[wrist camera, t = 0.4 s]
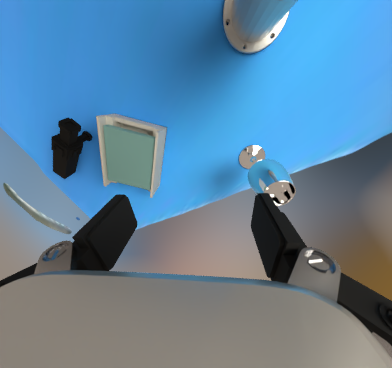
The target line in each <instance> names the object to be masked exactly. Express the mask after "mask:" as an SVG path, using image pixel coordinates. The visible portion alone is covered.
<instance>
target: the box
mask: <svg viewBox="0 0 392 368" xmlns="http://www.w3.org/2000/svg"><path fill="white" fill-rule="evenodd" d="M96 119H97V128H98V137H99V146H100V155H101V164H102V173H103V182H104V186H107V185H108V184H110V183H111V182H113V183H117V182H114V181H110V180H108V171H107V160H106V149H105V138H104V127H103V125H108V124H109V125H113V126H116V127H120V128H124V129H128V130H132V131H135V132H139V133H143V134H147V135H151V136H154V137H156V138H155V149H154V160H153V171H152V182H151V190H148V191H150V192H151V193H150V197H151V198H152V197H153V195H154V194H155V192H156V190H157V189H158V187H159V185H160V179H161V171H162V163H163V155H164V147H165V139H166V131H167V127H163V126H159V125H156V124H152V123H148V122H145V121H141V120H137V119H133V118H130V117H126V116H122V115H118V114H108V115H100V116H96Z"/></svg>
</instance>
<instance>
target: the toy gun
mask: <svg viewBox="0 0 392 368" xmlns="http://www.w3.org/2000/svg"><path fill="white" fill-rule="evenodd" d="M58 125H59V127H60V134H58V135H55V136H53V137H52V150H53V171H54V172H55V173H56V174H58V175H59V176H61V177H62V178H64V179H66V178H67V177H69V176H70V175H72V174H73V173H75V171H76V166H77V162H78V158H79V154H80V153H81V151H82V147H83V142H84V141H86V140H87V141H90V140H91V139H92V136H91V134H89V133H88V132H87V131H84V132H83V133H82V135H80V136H78V132H80V131H81V126H80V125H79V124H78V123H77V122H75V121H74V120H73V119H72V118H71V119H70V118H66V119H63V120H60V121H59V124H58Z"/></svg>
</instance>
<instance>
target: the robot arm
mask: <svg viewBox="0 0 392 368" xmlns="http://www.w3.org/2000/svg"><path fill="white" fill-rule="evenodd" d="M297 1H298V0H225V3H224V9H223V25H224V31H225V34H226V37H227V39H228V41H229V43H230V44H231V45H232V46H233V47H234V48H235V49H236V50H237V51H239V52H242V53H246V54H251V53H256V52H259V51H261V50H263V49H264V48H266V47H267V46H268V45H269V44H271V43H272V42H273V41H274V40H275V38H276V37H277V36H278V34H279V33H280V32H281V30H282V28H283V26H284V24H285V22H286V20H287V17H288V15H289V11H290V9H291V8H292V7H293V6H294V4H295V3H296V2H297ZM226 23H229V24H228V25H226ZM270 36H272V39H271V38H270ZM243 47H245V49H243ZM136 227H137V221H136V218H135V215H134V213H133V210H132V207H131V204H130V201H129V199H128V197H127V196H126V195H115V196H114V197H113V198H112V199H111V200H110V201H109V202H108V203H107V204H106V205H105V206H104V207H103V208H102V209H101V210H100V211H99V212H98V213H97V214H96V215H95V216H94V217H93V218H92V219H91V220H90V221H89V222H88V223H87V224H86V225H84V226H83V227H82V228H81V229H80V230H79V231H78V232H77V233H76V234H75V235H74V236H73V239H74V240H75V241H74V242H73V243H72V242H70V241H62V242H59V243H57V244H55V245H53V246H51V247H50V248H48V249H47V250H46V251H44V252H43V253H42V255H41V256H40V258H39V260H38V263H36V264H34V265H32V266H30V267H28V268H26V269H24V270H22V271H20V272H17V273H15V274H13V275H11V276H9V277H7V278H5V279H3V280H1V281H0V368H392V301H391V300H389V299H387V298H385V297H384V296H382V295H380V294H378V293H377V292H375V291H373V290H371V289H369V288H368V287H366V286H364V285H362V284H361V283H359V282H357V281H355V280H353V279H352V278H350V277H348V276H346V275H345V274H343V273H341V269H340V266H339V264H338V263H337V262H336V261H335V259H334V258H332V257H331V256H330V255H329V254H327V253H325V252H324V251H322V250H319V249H316V248H312V247H307V246H306V245H305V243H304V242H303V241H302V239H301V237H300V236H299V234H298V233H297V232H296V230H295V228H294V227H293V225H292V224H291V223H290V221H289V220H288V218H287V217H286V215H285V214H284V213H283V212H280V210H279V209H278V207H277V205H276V204H275V202H274V201H273V199H272V198H271V196H270V195H269V193H259V194H258V195H256V196H255V203H254V208H253V215H252V221H251V229H252V232H253V235H254V238H255V241H256V244H257V247H258V250H259V253H260V256H261V259H262V262H263V265H264V268H265V272H266V274H267V277H268V278H271V280H272V281H267V280H257V279H244V278H231V277H213V276H195V275H177V274H176V275H175V274H157V273H137V272H115V271H109V270H110V269H112V268H113V266H114V265H115V263H116V261H117V259H118V258H119V256H120V255H121V253H122V251H123V249H124V247H125V246H126V244H127V243H128V241H129V239H130V238H131V236H132V234H133V233H134V231H135V229H136Z"/></svg>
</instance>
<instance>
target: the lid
mask: <svg viewBox="0 0 392 368" xmlns="http://www.w3.org/2000/svg"><path fill="white" fill-rule="evenodd" d="M103 127H104V138H105V149H106V160H107V171H108V180H110V181H114V182H118V183H122V184H126V185H130V186H134V187H138V188H142V189H147V190H151V182H152V171H153V160H154V149H155V138H156V137H154V136H151V135H147V134H143V133H139V132H135V131H132V130H128V129H124V128H120V127H116V126H113V125H109V124H108V125H103Z"/></svg>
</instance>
